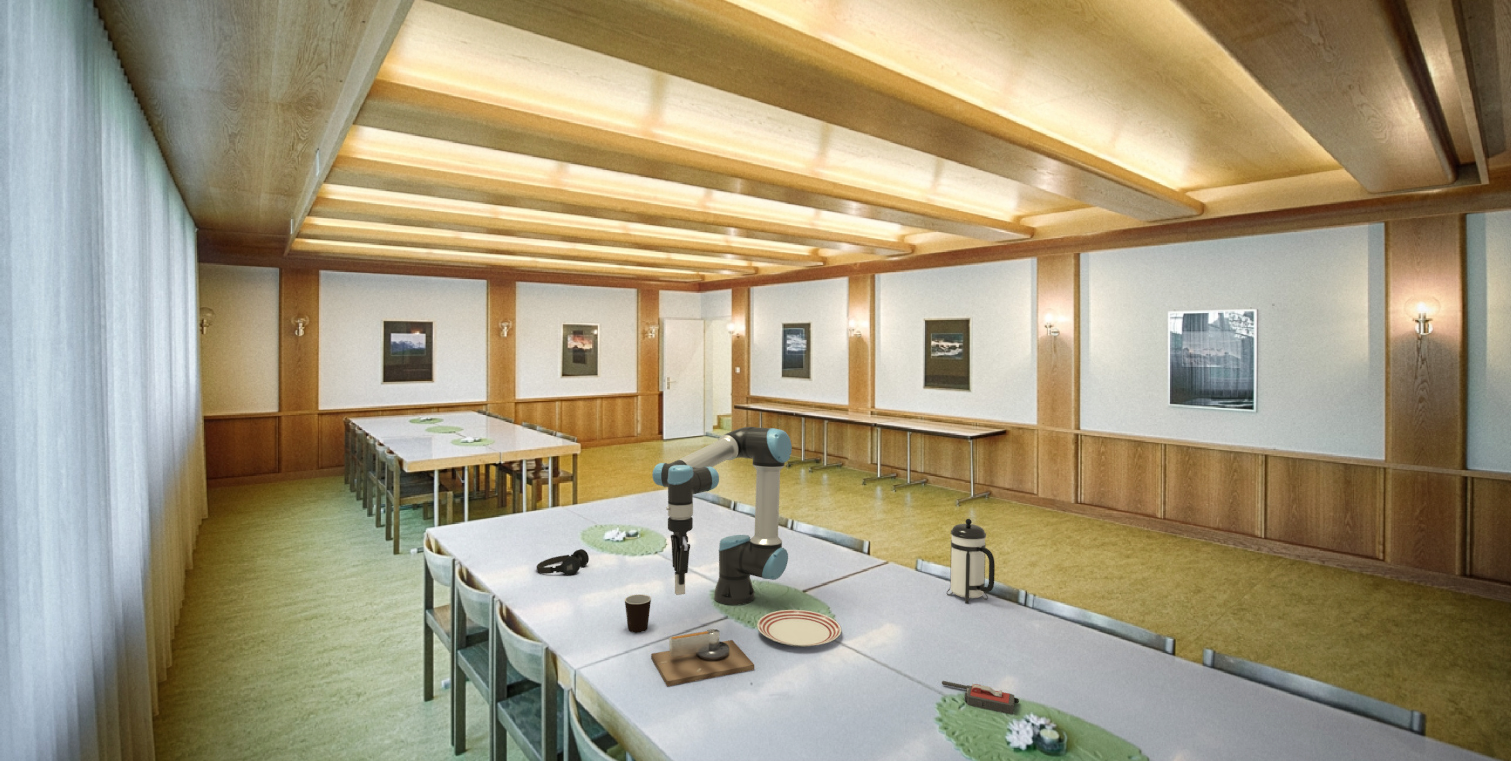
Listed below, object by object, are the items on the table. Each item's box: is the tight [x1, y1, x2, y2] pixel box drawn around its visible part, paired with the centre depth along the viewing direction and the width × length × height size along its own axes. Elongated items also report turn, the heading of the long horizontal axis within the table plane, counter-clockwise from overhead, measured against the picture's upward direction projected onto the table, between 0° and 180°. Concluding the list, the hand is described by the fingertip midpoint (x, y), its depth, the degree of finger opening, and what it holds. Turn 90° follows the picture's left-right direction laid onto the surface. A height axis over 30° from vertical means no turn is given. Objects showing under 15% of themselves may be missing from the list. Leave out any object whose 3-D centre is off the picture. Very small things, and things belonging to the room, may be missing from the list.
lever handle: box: [668, 628, 729, 661], centre depth 196 cm, size 18×10×7 cm, turn 113°
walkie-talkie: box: [941, 680, 1020, 715], centre depth 176 cm, size 9×4×20 cm
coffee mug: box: [624, 594, 652, 634], centre depth 220 cm, size 12×9×10 cm
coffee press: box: [946, 518, 996, 604], centre depth 249 cm, size 17×16×30 cm
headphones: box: [536, 548, 590, 576], centre depth 279 cm, size 17×7×20 cm
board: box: [650, 639, 755, 687], centre depth 194 cm, size 26×18×2 cm
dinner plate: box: [756, 609, 842, 648], centre depth 216 cm, size 28×27×3 cm
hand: (679, 593), depth 201 cm, fingers closed
